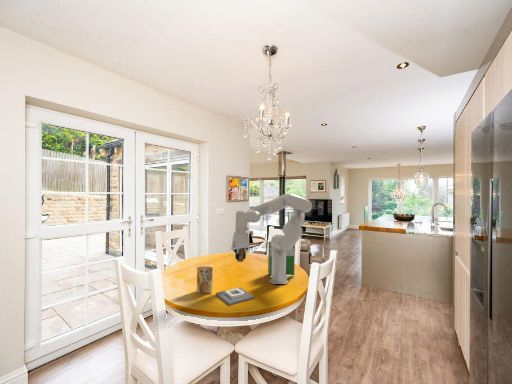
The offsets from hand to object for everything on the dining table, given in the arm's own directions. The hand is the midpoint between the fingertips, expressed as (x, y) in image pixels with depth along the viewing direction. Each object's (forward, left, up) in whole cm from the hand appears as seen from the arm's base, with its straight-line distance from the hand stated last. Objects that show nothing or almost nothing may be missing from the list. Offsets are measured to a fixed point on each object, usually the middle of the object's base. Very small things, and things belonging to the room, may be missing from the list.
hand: (240, 258), depth 152 cm
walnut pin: (0, 0, -1) cm, 1 cm away
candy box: (+22, -4, -18) cm, 29 cm away
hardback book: (-36, -2, -18) cm, 40 cm away
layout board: (+10, +11, -17) cm, 23 cm away
